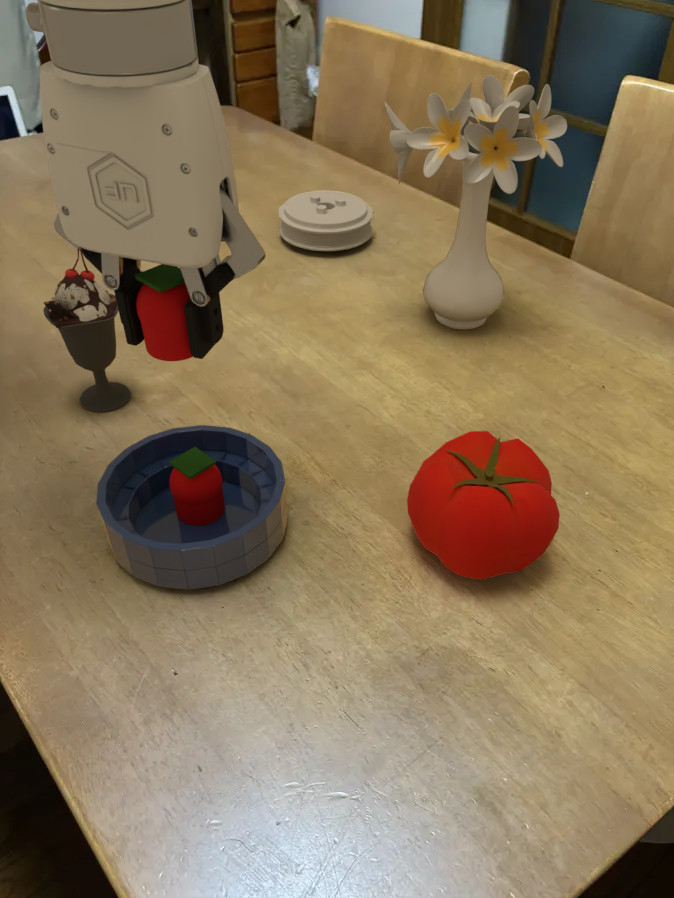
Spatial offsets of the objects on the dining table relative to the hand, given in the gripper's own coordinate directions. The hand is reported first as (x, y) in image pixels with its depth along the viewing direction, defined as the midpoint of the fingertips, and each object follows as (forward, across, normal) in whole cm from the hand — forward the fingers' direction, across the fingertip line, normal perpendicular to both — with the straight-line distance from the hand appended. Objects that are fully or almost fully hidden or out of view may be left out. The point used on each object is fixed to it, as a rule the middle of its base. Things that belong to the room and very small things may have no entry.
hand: (174, 339), depth 52 cm
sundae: (+17, -17, +12) cm, 27 cm away
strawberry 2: (+17, 0, 0) cm, 17 cm away
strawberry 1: (+1, 0, 0) cm, 1 cm away
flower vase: (+17, +13, +39) cm, 45 cm away
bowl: (+17, 0, -1) cm, 17 cm away
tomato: (+17, +22, +4) cm, 29 cm away
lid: (+17, -9, +54) cm, 58 cm away
